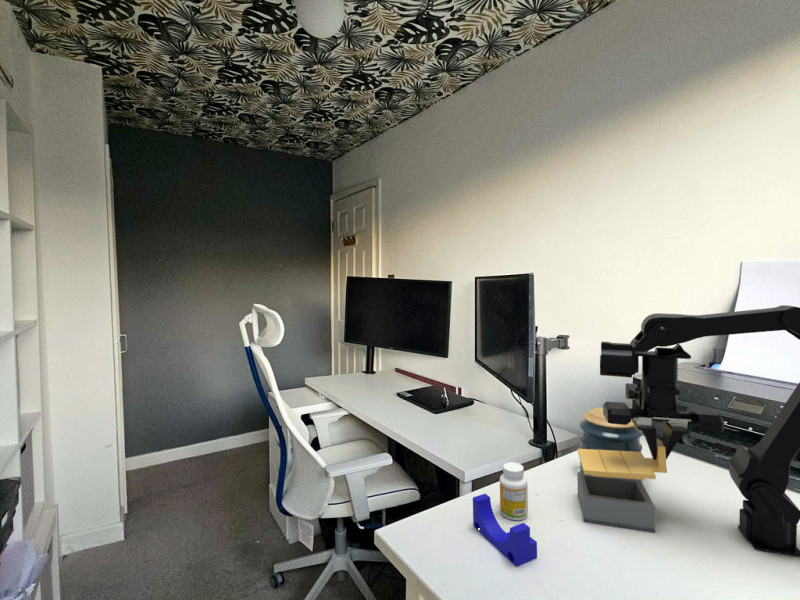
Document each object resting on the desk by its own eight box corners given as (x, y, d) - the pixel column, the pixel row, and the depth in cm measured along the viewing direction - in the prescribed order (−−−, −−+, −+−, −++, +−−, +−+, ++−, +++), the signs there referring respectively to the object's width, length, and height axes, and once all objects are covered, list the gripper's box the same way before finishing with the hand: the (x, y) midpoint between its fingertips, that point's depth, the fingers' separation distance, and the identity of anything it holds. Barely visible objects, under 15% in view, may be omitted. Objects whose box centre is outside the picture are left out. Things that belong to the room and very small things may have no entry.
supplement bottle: (507, 502, 83) (506, 458, 83) (532, 511, 80) (531, 465, 80) (495, 514, 79) (494, 467, 79) (521, 524, 76) (520, 475, 75)
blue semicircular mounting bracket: (537, 558, 67) (536, 524, 67) (516, 567, 65) (516, 532, 65) (492, 520, 78) (491, 491, 77) (473, 527, 76) (472, 497, 75)
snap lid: (655, 461, 81) (654, 433, 80) (672, 485, 71) (670, 454, 71) (578, 456, 85) (576, 430, 85) (584, 479, 76) (582, 449, 75)
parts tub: (640, 503, 82) (640, 479, 82) (655, 532, 72) (655, 506, 72) (577, 495, 86) (577, 472, 85) (583, 522, 76) (583, 497, 76)
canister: (599, 459, 102) (599, 392, 101) (653, 480, 91) (653, 405, 90) (568, 473, 95) (568, 401, 94) (622, 498, 84) (622, 417, 83)
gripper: (699, 372, 80) (699, 447, 81) (598, 368, 86) (598, 438, 86) (726, 386, 69) (724, 473, 70) (608, 381, 75) (608, 460, 76)
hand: (659, 459), depth 76 cm, fingers closed on snap lid
